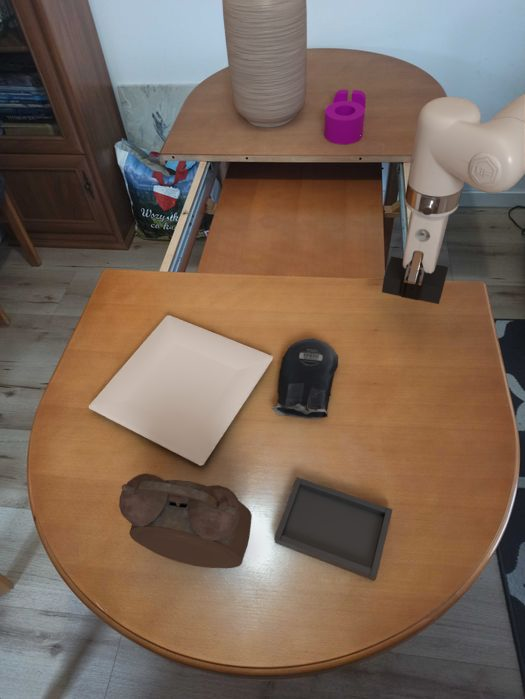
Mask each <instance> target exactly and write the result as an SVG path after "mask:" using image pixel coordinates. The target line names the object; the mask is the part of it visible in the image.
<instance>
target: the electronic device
mask: <svg viewBox="0 0 525 699" xmlns="http://www.w3.org/2000/svg"><path fill="white" fill-rule="evenodd" d="M338 366H339V355H338V354H337V352H336V351H335V349H334V347H333V346H332V345H330V344H329V343H328V342H326V341H323V340H321V339H318V338H315V337H307V338H302V339H299V340H298V341H295V342H294V343H292V344H291V345H289V346H288V347H287V349H286V351H285V353H284V355H283V357H282V358H281V363H280V367H279V372H278V374H279V375H278V384H277V403H276V405H273V406H272V408H271V410H272V411H273V412H274V413H275V415H277V416H283V417H284V416H285V417H294V418H302V419H308V420H319V419H322V418H323V419H324V418H328V417H329V415H328V414H329V412H328V410H329V403H330V399H331V396H332V388H333V383H334V382H333V381H334V378H335V372H336V371H337V369H338Z"/></svg>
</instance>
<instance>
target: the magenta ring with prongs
mask: <svg viewBox="0 0 525 699" xmlns="http://www.w3.org/2000/svg"><path fill="white" fill-rule="evenodd" d="M366 101H367V96H366V93H365V92H364V91H363V90H361V89H353V90H352V92H351V101H350V100H349V89H339V90H337V91H336V92H335V93H334V97H333V101H332V103H330V104H329V105H327V106H326V107H325V110H324V131H323V132H324V138H325V140H326V141H328V142H330V143H332V144H335V145H351V144H354V143H357V142H358V141H360V140H361V139H362V137H363V135H364V126H365V125H364V123H365V114H366V103H367V102H366ZM360 135H361V136H360Z"/></svg>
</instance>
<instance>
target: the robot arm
mask: <svg viewBox="0 0 525 699" xmlns="http://www.w3.org/2000/svg"><path fill="white" fill-rule="evenodd" d="M481 121H482V115H481V110H480V108H479V107H478V105H477V104H475V103H474V102H473V101H472V100H469V99H467V98H465V97H459V96H441V97H437V98H434V99H432V100H430V101H429V102H427V103H426V104H424V105H423V107H422V108H421V109H420V112H419V114H418V118H417V123H416V128H415V135H414V141H413V147H412V153H411V158H410V159H411V160H410V165H409V170H408V171H409V172H408V178H407V184H406V189H405V196H404V204H405V207H407V209H408V210H409V211H410V214H409V219H408V226H407V231H406V238H405V244H404V251H403V257H402V258H403V267H404V268H405V269H406V268H407V269H406V274H405V277H404V278H403V283H402V288H401V293H400V296H399V297H401V298H404V299H408V300H413V301H420V300H419V299H420V296H421V291H422V287H423V283H424V281H422V280H423V276H424V272H426V273H432V272H434V270H435V267H436V265H437V263H438V259H439V256H440V252H441V248H442V245H443V241H444V237H445V233H446V229H447V225H448V221H449V217H450V215H451V214H453V213H454V212H455V211H457V209H458V208H459V204H460V201H461V197H462V194H463V191H464V190H463V189H464V186H465V184H467V185H468V186H470V187H472V188H473V189H476V190H478V191H480V192H483V193H487V194H499V193H504V192H506V191H508V190H510V189H511V188H513V187H514V186H515V185H516V184H517V183H518V182H519V181H520V180H521V179H522V178H523V176H524V175H525V92H524V93H523V94H521V95H519V96H517V97H516V98H515V99H513V100H512V101H510V102H509V103H508V104H506V106H504V107H503V108H502V109H500V111H498V112H497V113H496V114H495V115H494V116H493V117H492V118H491V119H490V120H489V121H485V122H481ZM411 261H412V263H411ZM421 262H422V264H423V265H421ZM419 271H421V273H420V277H418V272H419Z"/></svg>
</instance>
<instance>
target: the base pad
mask: <svg viewBox="0 0 525 699" xmlns="http://www.w3.org/2000/svg"><path fill="white" fill-rule="evenodd" d="M392 513H393V509H392V508H390V507H387V506H384V505H381V504H378V503H375V502H372V501H369V500H367V499H363V498H361V497H358V496H355V495H352V494H349V493H346V492H343V491H340V490H337V489H334V488H331V487H328V486H325V485H322V484H319V483H316V482H314V481H311V480H307V479H305V478H301V477H298V476H296V478H295V480H294V482H293V486H292V489H291V491H290V494H289V497H288V500H287V502H286V505H285V508H284V510H283V513H282V515H281V518H280V521H279V524H278V527H277V529H276V532H275V534H274V538H273V539H274V544H277V545H279V546H282V547H285V548H288V549H290V550H292V551H295V552H298V553H300V554H303V555H306V556H308V557H311V558H312V559H316V560H318V561H321V562H324V563H326V564H328V565H332V566H334V567H336V568H340V569H342V570H345V571H348V572H350V573H353V574H355V575H357V576H361V577H362V578H366V579H368V580H371V581H373V582H375V581H376V579H377V577H378V572H379V569H380V564H381V560H382V556H383V551H384V547H385V542H386V538H387V533H388V530H389V525H390V523H391V522H390V521H391V518H392Z"/></svg>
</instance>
